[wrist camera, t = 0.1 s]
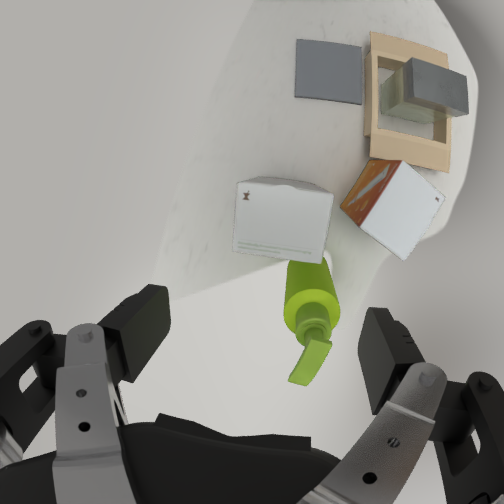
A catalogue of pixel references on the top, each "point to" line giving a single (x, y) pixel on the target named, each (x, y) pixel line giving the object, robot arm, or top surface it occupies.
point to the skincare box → (281, 219)
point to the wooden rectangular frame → (381, 141)
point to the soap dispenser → (310, 315)
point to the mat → (328, 71)
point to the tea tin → (424, 93)
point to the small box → (393, 205)
